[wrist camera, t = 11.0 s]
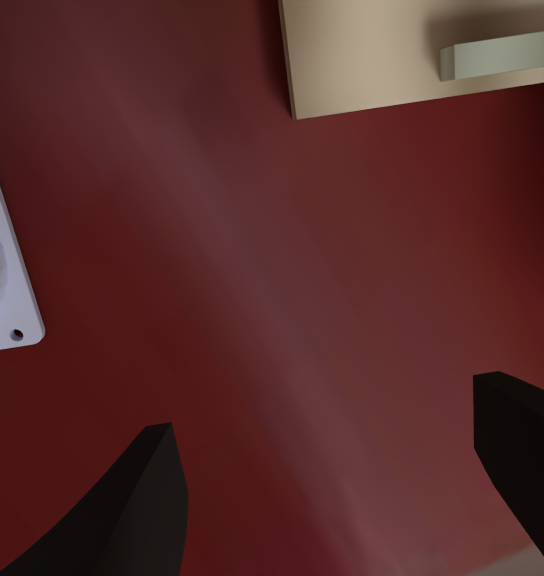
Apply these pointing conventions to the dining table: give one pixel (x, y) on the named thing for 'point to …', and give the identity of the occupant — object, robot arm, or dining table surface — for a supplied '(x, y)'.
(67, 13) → the dining table surface
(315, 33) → the display stand
